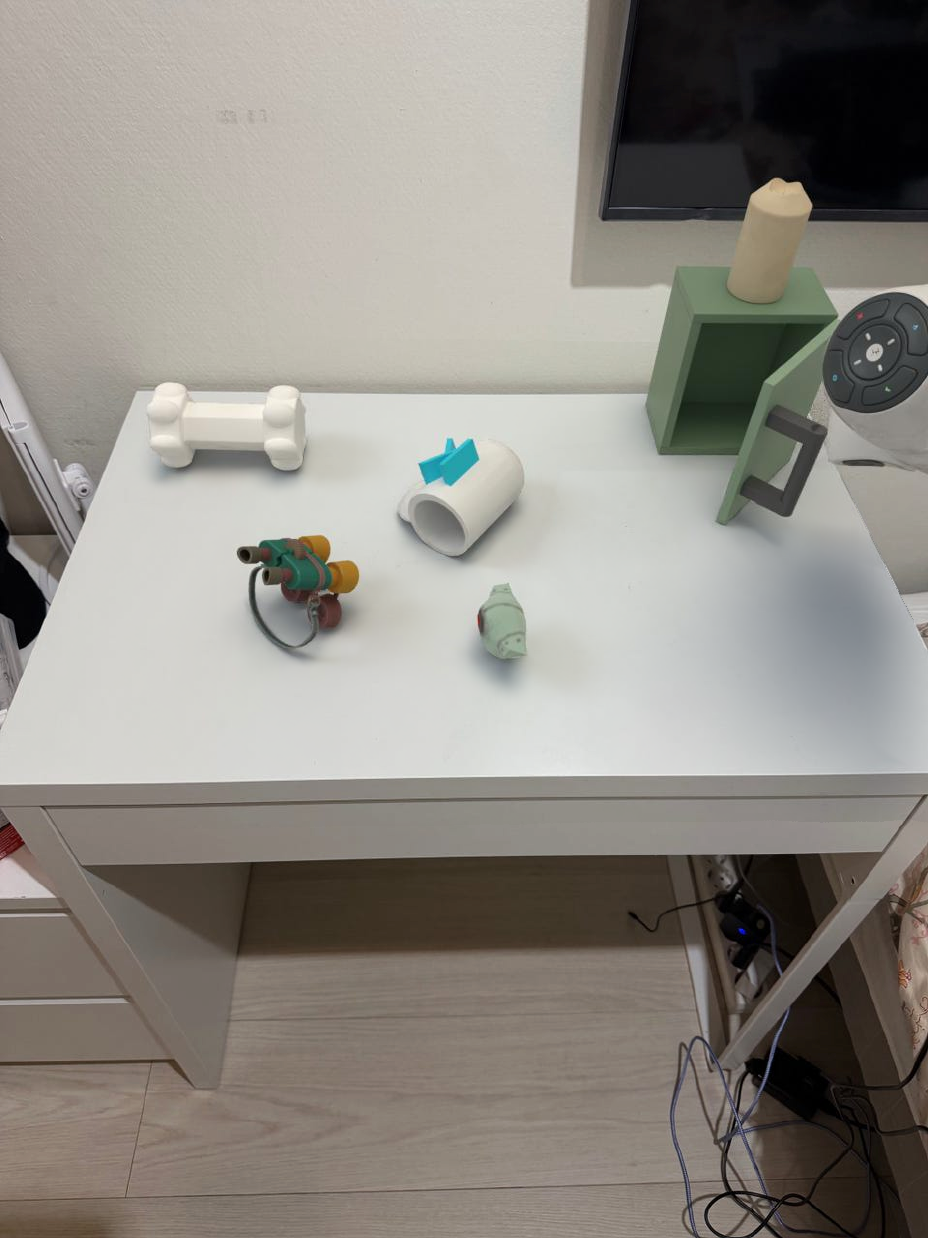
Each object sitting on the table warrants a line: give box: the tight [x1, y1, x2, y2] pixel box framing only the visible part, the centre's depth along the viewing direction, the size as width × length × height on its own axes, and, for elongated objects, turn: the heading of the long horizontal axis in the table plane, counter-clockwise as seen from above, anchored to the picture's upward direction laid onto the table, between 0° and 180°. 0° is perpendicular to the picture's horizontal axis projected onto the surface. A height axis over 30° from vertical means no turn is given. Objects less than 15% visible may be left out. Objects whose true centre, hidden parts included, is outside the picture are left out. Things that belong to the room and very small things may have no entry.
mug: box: [397, 437, 525, 557], centre depth 84 cm, size 12×9×12 cm
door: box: [715, 318, 841, 526], centre depth 82 cm, size 6×14×17 cm, turn 138°
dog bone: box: [145, 381, 308, 471], centre depth 88 cm, size 15×9×8 cm, turn 89°
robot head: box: [476, 582, 528, 660], centre depth 73 cm, size 8×4×7 cm, turn 9°
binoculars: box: [236, 534, 360, 650], centre depth 73 cm, size 9×9×10 cm
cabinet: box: [644, 265, 840, 455], centre depth 90 cm, size 9×14×17 cm, turn 92°
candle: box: [727, 177, 813, 304], centre depth 79 cm, size 6×6×10 cm
